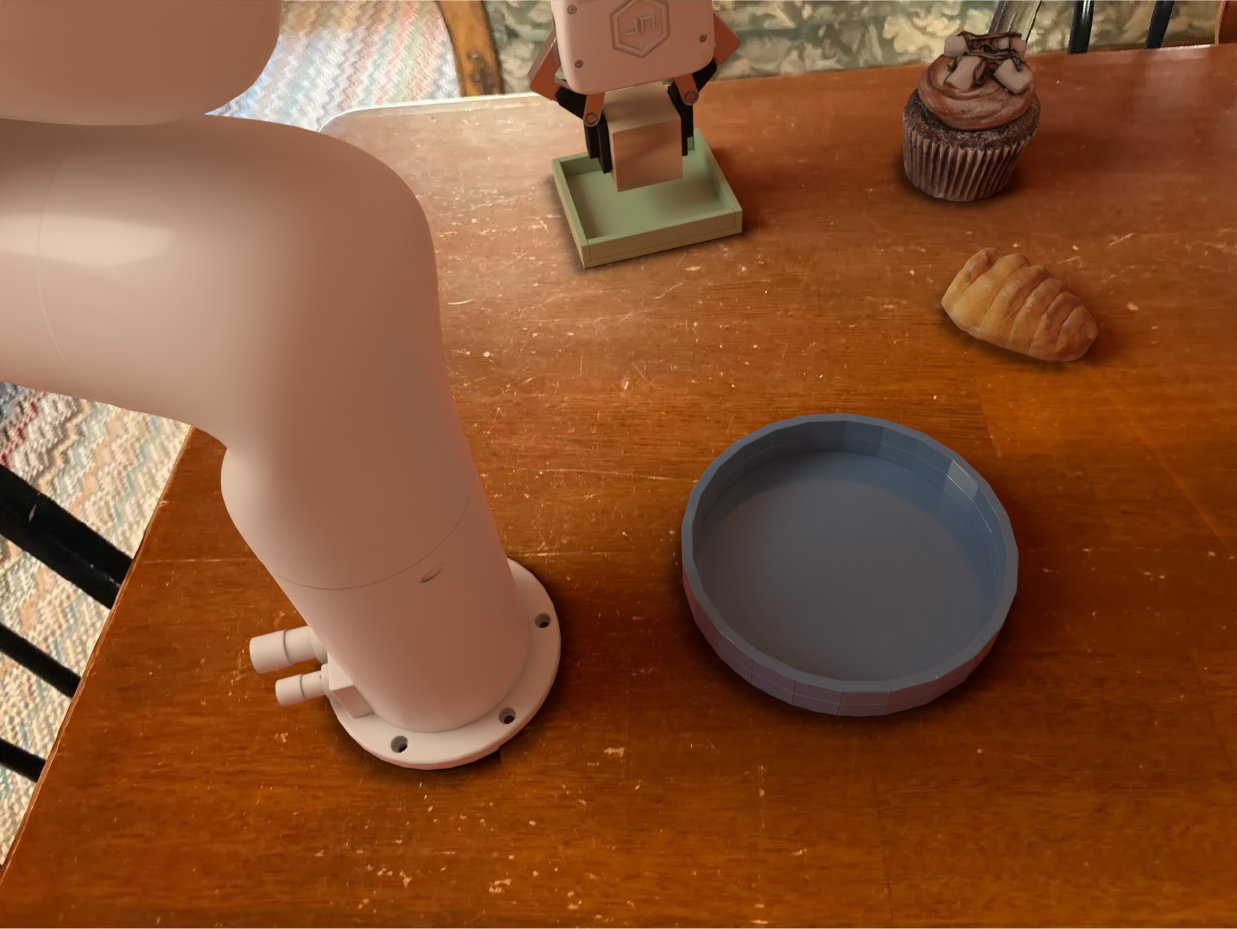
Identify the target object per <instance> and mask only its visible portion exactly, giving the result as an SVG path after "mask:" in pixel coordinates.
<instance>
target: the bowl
mask: <svg viewBox="0 0 1237 929" xmlns="http://www.w3.org/2000/svg"><path fill="white" fill-rule="evenodd" d="M680 527H681V528H680V530H681V563H682V581H683V582H682V584H683V590H684V592H685V596H686V598H687V602H688V605H689V607H690V611H691V614H692V617H693V620H694V622H695V624H696V626H697V627H698V629H699V631H701V633H702V635H703V636H704V638H705V640H706V641H707V643H708V644H709V645H710V647H712V650H713V651H714V652H715V654H716V655H717V656H718V657H719V658H720V659H721V660H722V661H723V662H724V663H725V664H726V665H728V667H730V668H731V669H732V670H733V671H734V672H735V673H736V674H738V675H739V676H741V677H742V678H743V679H744V680H745V681H746V682H748V683H749V684H750V685H751V686H753V687H755V688H756V689H759V690H761V691H763V692H765V693H766V694H768V695H769V696H772V697H774V698H776V699H779V700H781V701H782V702H784V703H787V704H789V705H790V706H791V705H792V706H793V707H794V706H795V707H798V708H803V709H806V710H809V711H813V712H817V713H823V714H829V715H833V716H839V717H847V716H848V717H870V716H871V717H872V716H888V715H891V714H894V713H899V712H902V711H903V712H904V711H907V710H910V709H913V708H917V707H920V706H924V705H927V704H929V703H931V702H933V701H934V700H936V699H938V698H939V697H941V696H942V695H944V694H946V693H948V692H949V691H951V690H952V689H954V688H956V687H958V685H960V684H962V683H963V682H965V681H966V679H968V677H969V676H970V675H971V674H972V672H974V670H975V669H976V668H977V667H978V666H979V664H981V662H982V661H983V660H984V659H985V658H986V656H987V655H989V653H990V651H991V650H992V647H993V646H994V644H995V642H996V639H998V636H999V634H1000V632H1001V630H1002V628H1003V626H1004V624H1005V621H1006V618H1007V616H1008V614H1009V612H1010V609H1011V607H1012V604H1013V602H1014V599H1015V596H1016V594H1017V590H1018V581H1019V580H1018V575H1019V557H1020V556H1019V554H1020V553H1019V548H1018V545H1017V542H1016V538H1015V534H1014V531H1013V527H1012V523H1011V519H1010V517H1009V513H1007V511H1006V509H1005V507H1004V505H1003V504H1002V503H1001V501H1000V499H999V498H998V496H997V494H996V493H995V491H994V490H993V488H992V486H991V484H990V483H989V482H988V481H987V480H986V479H985V478H984V477H983V476H982V475H981V474H980V473H979V472H978V471H977V470H976V469H975V468H974V467H973V466H972V465H971V464H970V463H969V462H968V461H967V460H966V459H965V458H964V457H963V456H961V454H959V453H958V452H956V451H954V450H953V449H951V448H950V447H948V446H946V445H945V444H943V443H941V442H940V441H938V440H937V439H935V438H933V437H932V436H930V435H929V434H927V433H925V432H923V431H920V430H918V429H914V428H912V427H909V426H907V425H904V424H901V423H899V422H895V421H893V420H890V419H887V418H881V417H874V416H868V415H863V414H856V413H849V412H836V413H835V412H834V413H813V414H812V413H810V414H809V413H808V414H803V415H799V416H794V417H791V418H787V419H783V420H777V421H774V422H771V423H768V424H766V425H764V426H762V427H760V428H758V429H756V430H754V431H752V432H750V433H747V434H746V435H744V436H742V437H740V438H738V439H737V440H735V441H734V442H733V443H732V444H731V445H730V446H728V447H727V448H726V449H725V450H724V451H723V452H721V453H720V454H719V455H718V456H716V458H715V459H713V460H712V461H711V462H710V463H709V464H708V466H707V468H706V469H705V471H704V472H703V473H702V475H701V476H700V478H699V480H698V481H697V483H696V484H695V486H694V487H693V488H692V490H691V492H690V495H689V498H688V501H687V505H686V508H685V511H684V514H683V519H682V521H681V526H680Z"/></svg>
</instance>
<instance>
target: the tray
mask: <svg viewBox="0 0 1237 929" xmlns="http://www.w3.org/2000/svg"><path fill="white" fill-rule="evenodd" d="M687 139H688V155H687V156H683V157H682V168H683V178H681V179H676V180H672V181H667V182H663V183H658V184H654V185H649V186H645V187H640V188H636V189H631V190H627V191H622V192H617V190H616V188H615V185H614V183H613V180H612V178H611V175H610V173H606V174H603V171H602V169H601V166H600V164H599V161H598V159H597V158H594V159H590V157H589V155H588V151H584V152H579V153H573V154H570V155H566V156H561V157H556V158H551V159H550V161H551V162H550V163H551V168H552V174H553V180H554V184H555V186H556V190H557V192H558V193H557V194H558V196H559V199H560V201H561V205H562V207H563V211H564V214H565V216H566V219H567V222H568V225H569V229H570V231H571V234H572V238H573V240H574V244H575V246H576V249H577V252H578V256H579V259H580V261H581V263H582V267H583V269H588V268H589V269H590V268H592V267H596V266H603V265H606V264H611V263H616V262H619V261H624V260H628V259H632V258H637V257H641V256H646V255H650V254H654V253H659V252H663V251H667V250H671V249H676V248H681V247H685V246H689V245H693V244H698V243H703V242H706V241H713V240H716V239H720V238H724V237H728V236H734V235H737V234H742V233H743V212H744V211H743V209H742V206H741V204H740V202H739V200H738V199H737V197H736V195H735V193H734V192H733V189H732V188H731V185H730V183H729V182H728V180H727V178H726V177H725V174H724V172H723V170H722V169H721V167H720V165H719V163H718V161H717V159H716V157H715V156H714V153H713V151H712V150H711V148H710V146H709V144H708V142H707V140H706V138H705V137H704V135H703V133H702V131H701V128H700V127H699V126H698V127H694V136H693V137H690V138H687Z"/></svg>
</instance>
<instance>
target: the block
mask: <svg viewBox="0 0 1237 929" xmlns="http://www.w3.org/2000/svg"><path fill="white" fill-rule="evenodd" d="M667 91H668V89H667V88H666V87H665V85H664V82H663V80H662V81H657V82H652V83H648V84H643V85H638V86H634V87H629V88H624V89H619V90H615V91H610V92H605V96H604V101H603V107H602V113H603V116H604V118H605V120H606V123H607V125H608V132H609V141H610V151H611V160H612V170H611V172H610V175H611V178H612V180H613V183H614V185H615V188H616V190H617V192H622V191H627V190H631V189H636V188H640V187H645V186H649V185H654V184H658V183H663V182H667V181H672V180H676V179H681V178H683V168H682V139H681V117H680V115H679V114H678V112H677V110H676V108H675V106H674V104H673V102H672V100H671V98H670V96H669V94H668V92H667Z"/></svg>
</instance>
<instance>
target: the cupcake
mask: <svg viewBox="0 0 1237 929" xmlns="http://www.w3.org/2000/svg"><path fill="white" fill-rule="evenodd" d="M1022 37H1023V33H1021V32H1019V31H1018V32H1017V31H990V32H986V33H983V34H977V33H973V32H972V31H968V30H961V31H960V32H958V33H957V34H955V33H954V34H949V35H948V36H947V37H946V38H945V40H944V45H943V53H941V54H940V55H939V56H938V57H937V58H935V60H933V61H932V63H930V65H928V66H927V67H926V68H925V70H923V73H922V74H921V75H920V77H919V78H918V82H917V87H916V88H915V89H914V90H913V91H912V92H911V94H910V95H909V96H908V98H907V100H906V101H905V106H904V107H903V112H902V116H901V117H902V118H901V119H902V120H901V122H902V124H901V125H902V154H903V164H904V171H905V175H906V178H907V180H908V181H909V182H910V183H911V184H912V186H914V187H915V189H917V190H919V191H921V192H922V193H924V194H925V195H928V196H931V197H933V198H936V199H942V200H946V201H949V202H972V201H975V200H982V199H988V198H990V197H992V196H994V195H996V194H997V193H999V192H1002V190H1003V188H1004V187H1005V186H1006V185H1008V184H1009V181H1010V179H1011V176H1012V174H1013V171H1014V170H1015V167H1016V166H1017V164H1018V162H1019V160H1020V159H1021V156H1022V154H1023V153H1024V151H1025V150H1026V148H1027V147H1028V146H1029V143H1030V142H1031V141H1032V139H1033V137H1034V136H1035V134H1036V133H1037V131H1038V129H1039V128H1040V127H1039V126H1040V125H1041V122H1040V117H1041V109H1042V106H1041V105H1042V104H1041V101H1040V99H1039V97H1038V95H1037V93H1036V87H1037V86H1036V85H1037V84H1036V79H1035V75H1034V72H1033V70H1032V68H1031V66H1030V65H1029V64H1028V63H1027V61H1026V59H1025V58H1024V57H1025V54H1026V52H1027V50H1028V48H1027V46H1028V45H1027V42H1026V41H1025V40H1024V39H1022Z"/></svg>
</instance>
